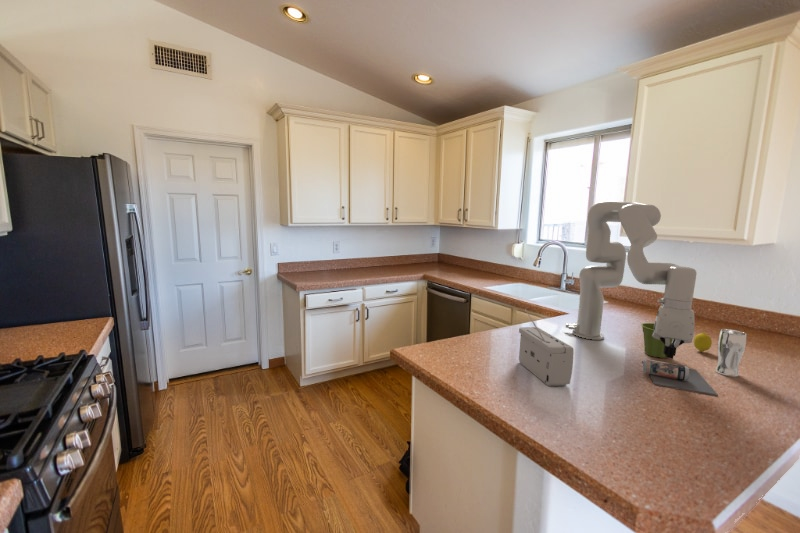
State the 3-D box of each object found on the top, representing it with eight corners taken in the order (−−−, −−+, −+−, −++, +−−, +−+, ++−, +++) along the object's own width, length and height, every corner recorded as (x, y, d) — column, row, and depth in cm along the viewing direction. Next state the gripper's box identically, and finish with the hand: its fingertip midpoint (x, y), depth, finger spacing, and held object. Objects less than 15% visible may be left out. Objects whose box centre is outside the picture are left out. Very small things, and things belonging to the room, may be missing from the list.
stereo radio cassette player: (571, 387, 112) (578, 325, 109) (547, 389, 111) (553, 326, 108) (535, 360, 133) (540, 307, 130) (515, 361, 131) (519, 308, 128)
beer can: (645, 358, 122) (690, 366, 116) (643, 358, 126) (686, 366, 120) (644, 373, 121) (688, 382, 115) (642, 372, 125) (685, 381, 119)
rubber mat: (654, 384, 116) (654, 383, 116) (642, 362, 134) (642, 361, 134) (717, 396, 109) (718, 394, 109) (695, 371, 127) (695, 369, 127)
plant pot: (676, 355, 142) (680, 327, 141) (672, 363, 134) (676, 334, 132) (640, 346, 150) (644, 320, 149) (634, 354, 142) (638, 326, 140)
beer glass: (733, 370, 128) (740, 330, 126) (744, 379, 122) (752, 336, 120) (709, 367, 131) (716, 327, 128) (719, 375, 124) (726, 333, 122)
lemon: (713, 355, 143) (716, 335, 142) (697, 353, 144) (700, 334, 143) (704, 350, 149) (707, 331, 148) (689, 348, 150) (692, 330, 149)
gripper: (652, 303, 119) (644, 356, 121) (709, 310, 113) (700, 365, 115) (647, 298, 125) (640, 349, 128) (701, 304, 119) (692, 357, 122)
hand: (668, 356), depth 122 cm, fingers closed
